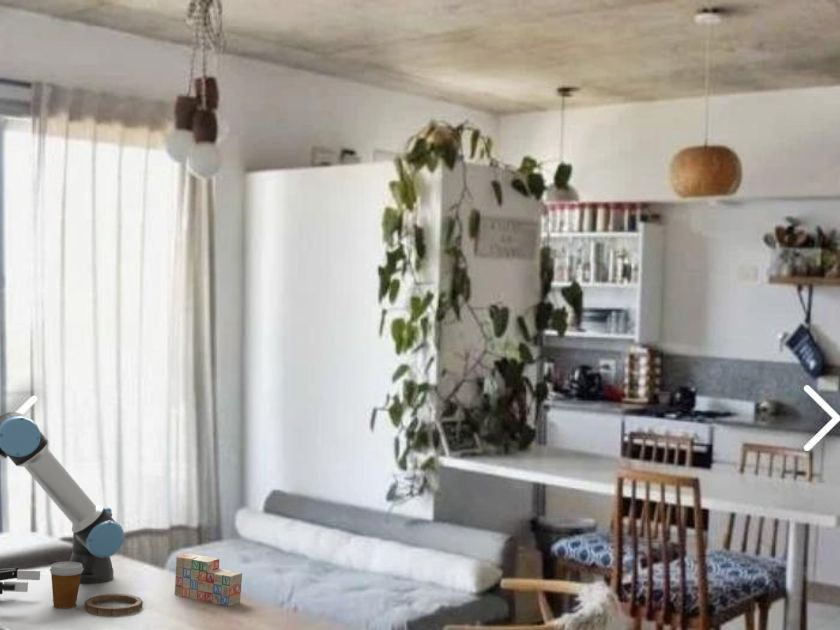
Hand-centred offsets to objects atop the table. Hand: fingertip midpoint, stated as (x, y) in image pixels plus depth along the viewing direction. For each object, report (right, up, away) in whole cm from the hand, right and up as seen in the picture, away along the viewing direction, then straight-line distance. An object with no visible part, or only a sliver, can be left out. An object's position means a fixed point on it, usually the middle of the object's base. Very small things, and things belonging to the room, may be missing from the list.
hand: (33, 581), depth 307 cm
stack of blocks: (+48, -10, +17) cm, 52 cm away
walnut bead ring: (+23, -8, +1) cm, 25 cm away
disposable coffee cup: (+9, -8, +1) cm, 12 cm away
